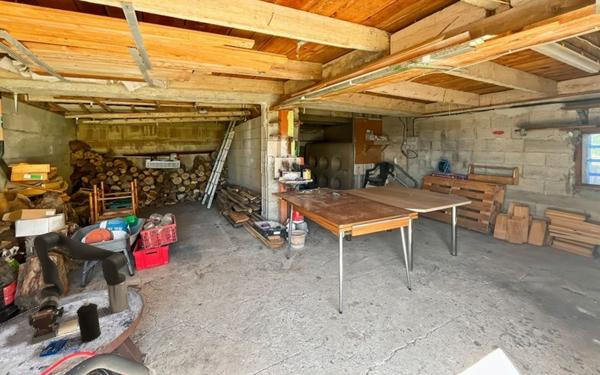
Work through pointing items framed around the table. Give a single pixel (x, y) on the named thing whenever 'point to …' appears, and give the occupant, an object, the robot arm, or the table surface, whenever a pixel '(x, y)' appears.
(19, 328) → the table surface
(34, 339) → the open rectangular frame
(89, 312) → the aerosol can
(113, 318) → the table surface
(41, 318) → the box
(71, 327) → the pad
